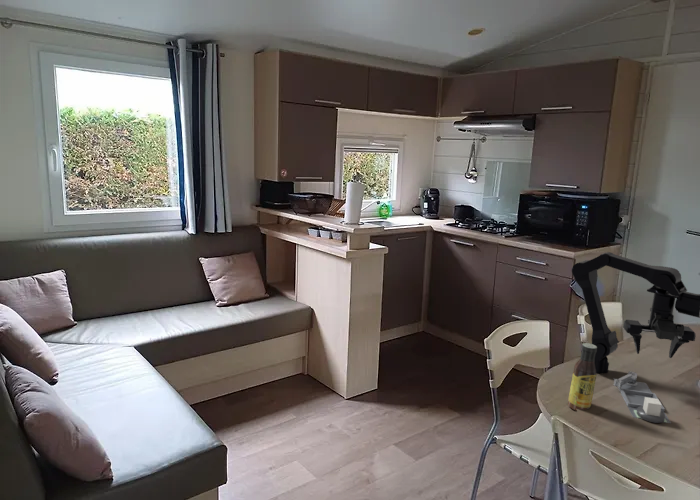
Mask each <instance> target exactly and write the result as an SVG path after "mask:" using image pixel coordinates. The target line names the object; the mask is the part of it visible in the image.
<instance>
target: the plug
mask: <svg viewBox="0 0 700 500" xmlns="http://www.w3.org/2000/svg"><path fill="white" fill-rule="evenodd" d="M658 399H659V398H658ZM658 399H655V398H648V397H645V399H644V405H643V406H639V407H638V408H637V415H638V416H639V417H640V418H642V419H641V420H644V421H647V422H650V423H653V424H654V423H655V424H662V423H665V422H664V420H665V414H666V413H665V414H664V413H663V412H662V411H661V406H662V405H663V404H662V402H661V400H660V399H659V400H658ZM660 402H661V403H660ZM640 418H639V419H640Z"/></svg>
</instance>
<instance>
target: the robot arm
mask: <svg viewBox="0 0 700 500" xmlns="http://www.w3.org/2000/svg"><path fill="white" fill-rule="evenodd" d="M604 267H608V268H609V267H610V268H613V269H616V270H619V271H622V272H624V273H628V274H631V275H634V276H636V277H640V278H643V279H644V280H646V281H647V282H649V283H650V284H651V285H652V286H651V287H650V288H647V289H646V292H649V293H652V294H653V298H652V305H651V307H650V308H649V312H650V315H649V319H648V320H647V324H641V322H640V321H639V320H633V319H625V320H624V322H623V324H622V325H623V326H622V327H623V329H624V331H625V332H626V333H627V334H629V335H630V336H631V337H632V339H633V343H634V347H635V351H636V354H637V355H639V354H640V351H641V339H642V338H643V335H642V332H647V333H649V332H650V333H655V336H656V338H657V339H660V340H668V341H671V342H670V346H669V347H670V348H669V350H668V351H669V352H668V353H669V354H668V357H669V359H672V358H673V357H674V355H675V354H676V352H677V351H678V350H679V348H680V347H682V345H684V344H689V343H690V342H695V341H696V338H697V337H696V336H697V335H696V332H695V331H694V330H693V329H692V328H691V327H690V326H688V325H684V324H683V323H682V324H681V323H680V324H679V323H675V322H674V314H673V313H674V309H675V311H677V313H679V314H682V315H686V316H690V317H695V318H698V319H700V293H694V292H688V289H687V288H686V286H685V284H684V282H683V280H682V274H681V273H680V271H679V270H678V269H676V268H675V267H668V266H663V265H662V266H661V265H651V264H646V263H643V262H640V261H637V260H634V259H631V258H629V257H628V258H627V257H624V256H621V255H619V254H618V255H617V254H615V253H612V252H610V251H607V252H603V253H601V254H600V255H598V256H596V257H594V258H591V259H590V260H589V259H587V260H582V261H580V262H579V261H578V262H577V263H575V264H573V266H572V268H571V275H572V277H573V278H574V280H575V283H576V284H577V285H578V286H579V288H580V289H581V291H582V295H583V299H584V302H585V307H586V309H587V314H588V318H589V321H590V325H591V328H592V333H591V334H592V335H591V344H593V345H596V346H597V352H596V354H595V368H596V374H597V375H598V374H599V375H602V374H608V372H609V367H610V362H609V359H608V356H610V355H611V354H612V353H614V352H615V351H616V350H617V349H618V346H619V343H620V340H619V339H618V336H617V331H616V330H613V331H612V330H611V329H610V328H609V327H608V323H607V320H606V317H605V312H604V310H603V305H602V302H601V301H602V300H601V297H600V294H599V291H598V290H599V289H598V286H597V283H598V270H601V269H602V268H604Z"/></svg>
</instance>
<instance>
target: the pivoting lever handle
mask: <svg viewBox="0 0 700 500" xmlns="http://www.w3.org/2000/svg"><path fill="white" fill-rule="evenodd" d="M637 378H638V373H637V372H636V371H633V370H632V371H631V370H630V371H628V372H627V374H626V375H623V376H621V377H619V378H615V380H614V379H613V386H614V387H617V388H618V387H619V388H621V387H622V385H624V384H626V383H627V382H629V383H633V384H635V383H636V382H637Z"/></svg>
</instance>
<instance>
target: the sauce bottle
mask: <svg viewBox="0 0 700 500" xmlns="http://www.w3.org/2000/svg"><path fill="white" fill-rule="evenodd" d="M596 352H597V346H596V345H593V344H592V343H589V342H585V343H582V344H581V354H580V357H579V359H578V360H577V361H576V362H575V365H574V368H573V372H572V378H571V383H570V388H569V394H568V402H567V405H568V407H569V408H570V409H572V410H573V411H578V410H584V411H585V410H589V409H590V408H591V406H592V402H593V396H594V391H595V386H596V381H597V376H598V374H597V373H596V368H595V354H596Z"/></svg>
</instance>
